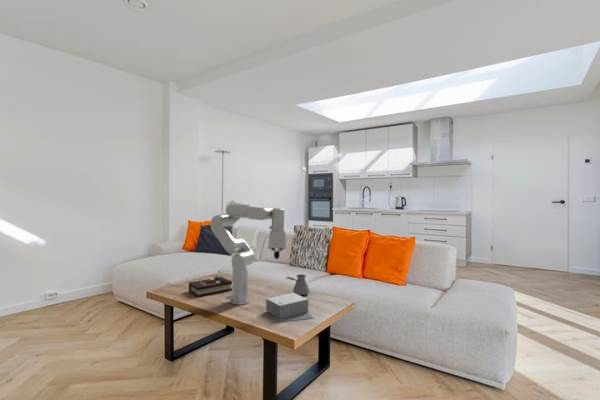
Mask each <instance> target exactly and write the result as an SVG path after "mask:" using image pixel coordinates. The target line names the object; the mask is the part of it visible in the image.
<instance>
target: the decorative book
mask: <svg viewBox="0 0 600 400" xmlns="http://www.w3.org/2000/svg"><path fill="white" fill-rule="evenodd" d="M230 291H232V292H233V280H229V279H228V278H225V277H223V276H218V275H217V276H215V277H213V278H208V279H203V280H197V281H191V282H188V293H190V294H192V295H193V296H194V297H197V298H202V297H206V296H212V295H216V294H221V293H222V294H223V293H226V292H230Z"/></svg>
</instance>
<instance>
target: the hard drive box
mask: <svg viewBox="0 0 600 400" xmlns="http://www.w3.org/2000/svg"><path fill="white" fill-rule="evenodd" d="M265 309H266V310H265V311H266V312H268V313H269V314H271V315H272V316H274V317H275V316H276V317H277V318H279V319H282V318H286V317H289V316H293V315H297V314H300V313H304V312H309V299H308V298H306V297H304V296H300V295H297V294H295V293H294V292H291V293H286V294H282V295H277V296H272V297H268V298H266V300H265Z"/></svg>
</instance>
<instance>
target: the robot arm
mask: <svg viewBox="0 0 600 400" xmlns="http://www.w3.org/2000/svg"><path fill="white" fill-rule="evenodd" d="M241 218H243V219H248V220H257V221H265V220H271V225H270V226H269V227H268V228H269V230H270V231H269V236H268V248H267V249H268V250H272V251H273V252H274V253H273V258H274V259H275V260H279V258H280V253H281V251H283V250H286V248H287V247H286V246H287V237H286V236H287V235H286V231H285V209H284V208H279V207H269V206H268V207H267V206H266V207H256V206H251V205H250V204H244V203H243V204H242V203H239V202H238V203H229V204H227V206H226V207H225V213H223V214H222V213H221V214H216V215H214V216H213V217H212V218H211V220H210V229H211V232H212V233H213V234H214V236H215V237H216V238H217V239H218V241H219V243H220V244H221V245H222V247H223V248H224V250H225V252H226V253H228V255H229V254H230V255H231V254H232V255H233V254H234V255H233V256H232V258H231V262H230V263H231V267H232V294H231V295H226V296H225V300H228V301H229V300H230V301H229V302H230V303H231V304H233V305H239V306H241V305H246V304H248V303H250V302H251V298H250V297H249V274H248V273H249V272H248V269H247V266H250V265H252V264H253V263H254V262H255V260H256V255H255V253H254V252H253V250H252V249H251V247H250V246H249V244H248V243H247V241H246V240H245V239H244V238H242V237H236V238H235V237H234V236H233V235H232V234H231V232H230V231H229V230H228V229H227V227H231V226H233V225H234V224H236V223H237V222H238V221H239V220H240V219H241Z"/></svg>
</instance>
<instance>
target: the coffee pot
mask: <svg viewBox="0 0 600 400" xmlns="http://www.w3.org/2000/svg"><path fill="white" fill-rule="evenodd" d="M296 277H297V278H293V277H290V276H286V277H285V280H287V281H288V280H292V281H295V283H294V286H293V289H292V291H293V292H292V293H295V294H297V295H300V296H301V295H304V296H307V295H308V294H309V293H310V288H309V286H308V283H307V281H306V275H305V274H297V275H296Z"/></svg>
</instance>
